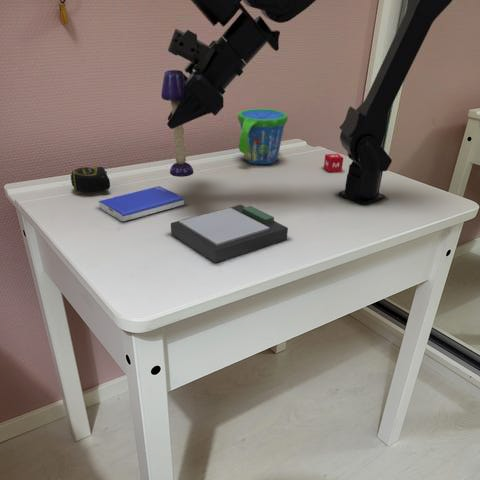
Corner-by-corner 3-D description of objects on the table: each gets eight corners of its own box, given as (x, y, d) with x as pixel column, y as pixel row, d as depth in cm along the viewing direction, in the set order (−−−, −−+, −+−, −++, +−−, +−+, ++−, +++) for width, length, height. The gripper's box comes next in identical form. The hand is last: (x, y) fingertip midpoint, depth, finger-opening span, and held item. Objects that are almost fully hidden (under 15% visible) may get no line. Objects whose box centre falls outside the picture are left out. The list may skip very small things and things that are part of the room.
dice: (328, 172, 106) (330, 158, 105) (323, 168, 109) (325, 154, 107) (341, 171, 107) (343, 157, 105) (336, 167, 110) (338, 153, 108)
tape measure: (111, 195, 92) (109, 175, 90) (73, 198, 90) (70, 177, 88) (108, 183, 97) (105, 164, 95) (72, 185, 95) (69, 166, 93)
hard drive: (158, 185, 92) (98, 199, 85) (183, 197, 87) (122, 213, 80) (158, 193, 93) (99, 208, 86) (184, 205, 88) (123, 222, 81)
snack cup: (258, 173, 105) (260, 123, 99) (221, 163, 110) (221, 115, 104) (298, 158, 115) (302, 112, 109) (262, 149, 120) (264, 105, 114)
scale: (240, 215, 85) (240, 199, 83) (287, 239, 77) (288, 222, 76) (171, 234, 78) (170, 218, 76) (215, 263, 70) (215, 245, 68)
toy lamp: (189, 178, 86) (184, 73, 77) (164, 177, 87) (156, 72, 77) (195, 170, 90) (191, 69, 81) (171, 169, 91) (164, 68, 81)
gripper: (195, 5, 82) (136, 78, 87) (198, 10, 67) (126, 98, 72) (241, 58, 87) (182, 124, 92) (254, 74, 72) (182, 152, 77)
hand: (169, 123), depth 83 cm, fingers closed on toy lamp, 4 cm apart
